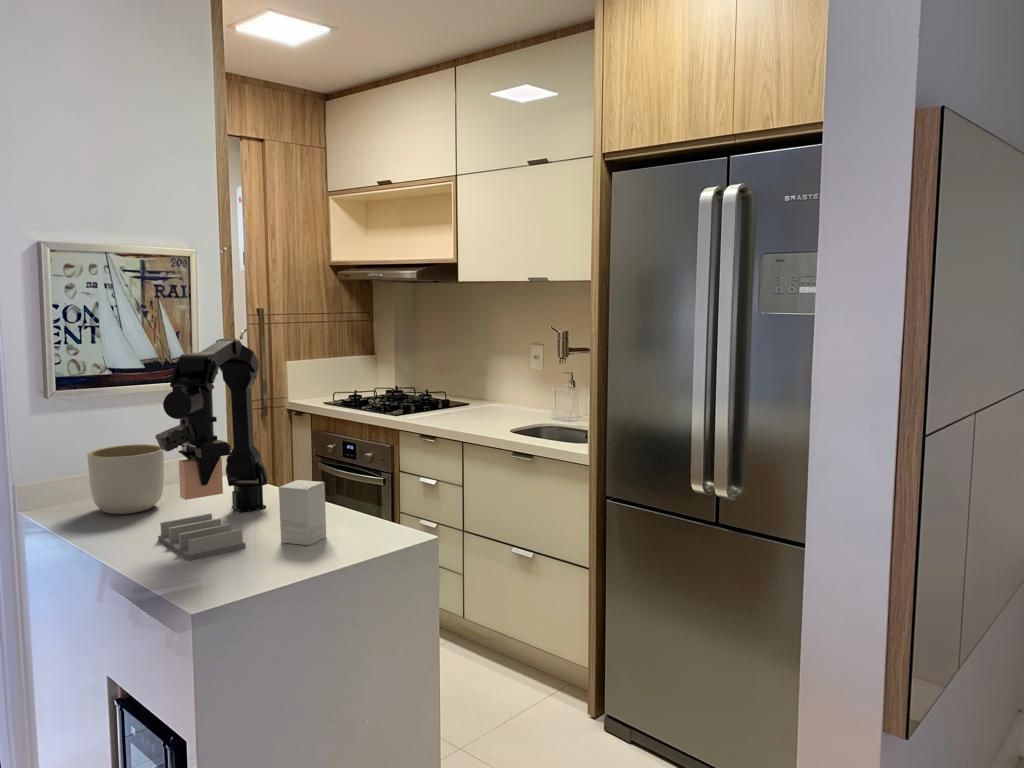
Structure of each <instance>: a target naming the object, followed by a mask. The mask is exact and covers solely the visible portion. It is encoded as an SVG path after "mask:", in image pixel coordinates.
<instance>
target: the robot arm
mask: <svg viewBox="0 0 1024 768" xmlns="http://www.w3.org/2000/svg"><path fill="white" fill-rule="evenodd" d="M259 364H260V363H259V359H258V357H257V356H256V354H255V352H254V351H253V350H252V349H250V348H249V347H246V346H245V345H244V344H242V341H241V340H239V339H237V338H219V339H217V340H216V341H215V342H214V343H213V344H211V345H210V346H208V347H206V348H205V349H203V350H201V351H199V352H187V353H182V354H181V355H180V356H178V359H177V361H176V362H175V367H174V370H173V372H172V377H171V380H170V383H169V387H170V388H171V389H172V391H170V392H169V393H168V394H167V395H166V396H165V398H164V400H163V402H162V405H163V410H164V413H165V414H166V415H167V416H168V417H170V418H172V419H174V420H179V425H176V426H173V427H171V428H168V429H166V430H163V431H162V432H159V433H157V434H156V435H155V439H156V441H157V443H158V446H160V448H161V450H163V451H165V452H170V451H173V450H175V449H178V448H179V447H180V446H181V449H180V450H177V452H178V453H179V454H181V455H182V457H184V458H186V460H187V459H194V460H195V461H196V462H197V465H198V471H199V476H200V481H201V485H202V486H204V485H207V484H208V482H209V479H210V477H211V475H212V473H213V471H214V468H215V466H216V464H217V463H218V461H219V459H220V457H221V458H222V457H225V456H226V466H225V474H226V479H227V485H228V487H232V486H233V491H232V492H231V495H232V496H231V499H232V504H231V508H232V509H234V510H236V511H239V512H241V513H244V512H250V511H256V510H260V509H261V510H262V509H266V508H267V505H265V504H264V496H263V495H264V494H263V493H264V491H263V488H264V487H263V486H266V485H268V484H269V483H268V481H269V477H268V476H269V474H268V471H267V469H266V467H265V465H264V463H263V462H262V456H261V453H260V451H259V450H258V448H257V447H256V446H255V445H254V444H255V443H254V431H253V429H254V428H253V410H252V409H253V408H252V391H251V390H252V389H251V388H252V386H253V385H254V383H255V381H256V380H257V379H258V378H257V377H258V371H259ZM219 370H220V371H221V373H222V381H224V383H225V384H226V386H227V388H229V390H230V403H231V424H232V438H233V439H232V441H233V448H232V447H231V445H230V444H229V443H228V442H227V441H225V440H220V439H218V435H215V432H214V431H215V430H214V423H217V422H218V420H217V419H218V418H217V416H214V407H213V404H214V401H213V390H214V389H215V385H214V383H215V380H216V377H217V375H218V373H219Z"/></svg>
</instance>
